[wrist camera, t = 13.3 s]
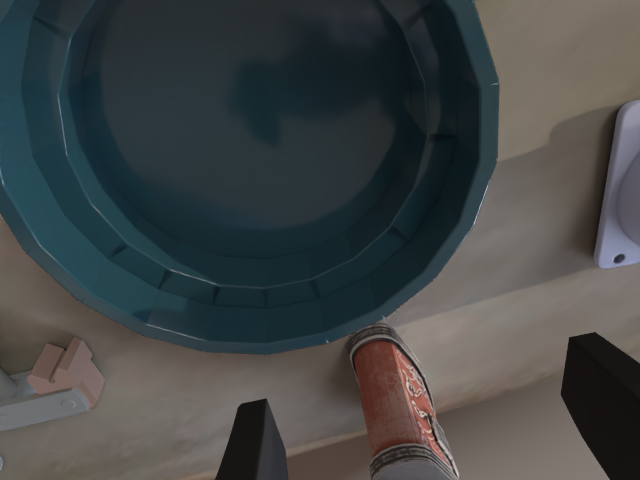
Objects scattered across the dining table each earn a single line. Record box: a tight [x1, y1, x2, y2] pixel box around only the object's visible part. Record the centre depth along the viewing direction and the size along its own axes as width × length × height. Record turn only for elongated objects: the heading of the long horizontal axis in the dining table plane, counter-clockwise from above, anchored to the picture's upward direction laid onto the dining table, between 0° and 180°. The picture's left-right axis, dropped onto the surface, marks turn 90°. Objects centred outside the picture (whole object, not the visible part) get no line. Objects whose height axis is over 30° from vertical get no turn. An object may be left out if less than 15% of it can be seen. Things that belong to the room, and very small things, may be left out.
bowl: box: [0, 0, 500, 355], centre depth 16 cm, size 15×15×4 cm
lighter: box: [348, 324, 459, 480], centre depth 22 cm, size 8×3×10 cm, turn 25°
